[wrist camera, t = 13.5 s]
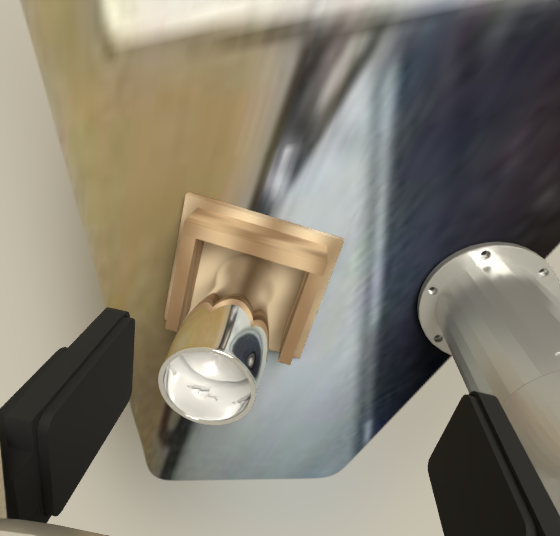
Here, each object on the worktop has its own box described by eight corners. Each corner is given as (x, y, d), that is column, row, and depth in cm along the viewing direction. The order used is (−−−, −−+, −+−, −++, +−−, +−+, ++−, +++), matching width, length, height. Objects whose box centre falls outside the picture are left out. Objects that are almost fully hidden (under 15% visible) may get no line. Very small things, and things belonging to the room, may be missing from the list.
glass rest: (343, 238, 38) (345, 260, 34) (299, 352, 44) (297, 384, 40) (188, 191, 38) (170, 207, 33) (167, 313, 44) (148, 341, 39)
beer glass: (278, 317, 41) (256, 434, 28) (211, 308, 42) (157, 420, 28) (284, 254, 38) (262, 352, 25) (212, 246, 39) (151, 338, 25)
